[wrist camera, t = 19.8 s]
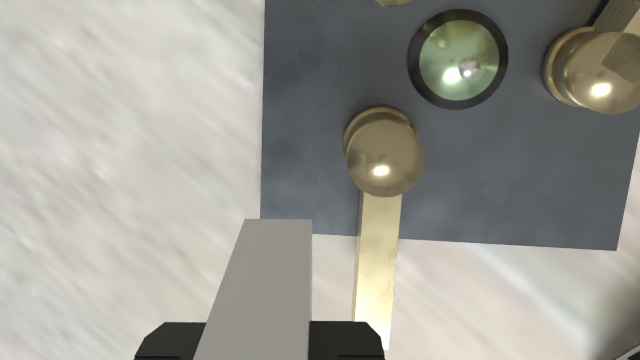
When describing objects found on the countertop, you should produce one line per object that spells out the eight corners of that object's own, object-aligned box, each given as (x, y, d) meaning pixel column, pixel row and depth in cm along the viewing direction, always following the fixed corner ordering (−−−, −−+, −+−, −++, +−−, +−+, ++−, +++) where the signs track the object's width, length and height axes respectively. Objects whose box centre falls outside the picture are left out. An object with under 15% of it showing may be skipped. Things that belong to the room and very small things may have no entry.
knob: (345, 104, 34) (345, 116, 30) (421, 108, 34) (432, 121, 30) (332, 310, 38) (331, 346, 34) (401, 314, 38) (409, 351, 34)
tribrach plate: (264, 217, 39) (258, 235, 36) (273, -153, 34) (266, -170, 30) (599, 236, 39) (622, 256, 36) (668, -135, 33) (703, -151, 30)
